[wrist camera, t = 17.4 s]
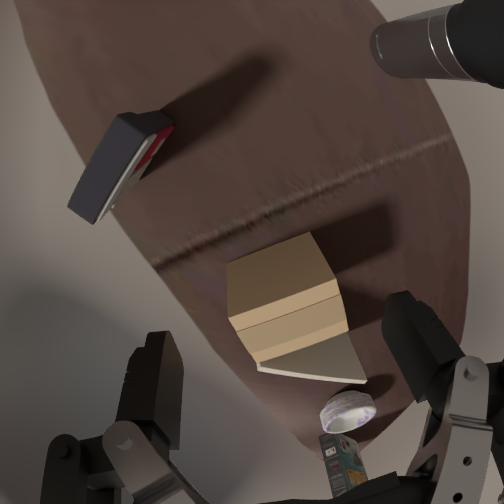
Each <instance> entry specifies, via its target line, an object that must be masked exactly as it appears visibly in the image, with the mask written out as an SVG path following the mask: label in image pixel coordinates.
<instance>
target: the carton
mask: <svg viewBox="0 0 504 504" xmlns="http://www.w3.org/2000/svg"><path fill="white" fill-rule="evenodd" d="M227 297H228V319H229V320H230V322H231V323H232V325H233V327H234V328H235V330H236V333H237V334H238V336H239V338H240V339H241V341H242V342H243V344H244V345H245V347H246V349H247V350H248V352H249V353H250V354H251V355H252V357H253V358H254V360H255V361H256V363H259V362H262V361H265V360H269V359H272V358H275V357H278V356H281V355H284V354H287V353H290V352H293V351H296V350H299V349H301V348H304V347H307V346H310V345H313V344H315V343H318V342H321V341H323V340H326V339H329V338H331V337H334V336H337V335H339V334H342V333H344V332H347V331H349V329H348V325H347V318H346V314H345V310H344V305H343V301H342V297H341V294H340V292H339V288H338V284H337V280H336V277H335V276H334V274H333V272H332V270H331V268H330V267H329V265H328V263H327V261H326V259H325V258H324V256H323V254H322V252H321V251H320V249H319V247H318V245H317V244H316V242H315V240H314V238H313V237H312V235H311V233H310V231H309V232H306V233H304V234H301V235H299V236H296V237H293V238H291V239H288V240H286V241H283V242H280V243H278V244H275V245H273V246H270V247H267V248H265V249H262V250H259V251H257V252H254V253H252V254H249V255H246V256H244V257H241V258H239V259H236V260H233V261H231V262H228V263H227Z"/></svg>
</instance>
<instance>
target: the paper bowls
mask: <svg viewBox="0 0 504 504" xmlns="http://www.w3.org/2000/svg"><path fill="white" fill-rule="evenodd" d="M375 414H376V407H375V405H374V402H373V400H372V397H371V396H370V395H369V394H366V393H360V392H358V391H354V390H351V391H345V392H342V393H339V394H337V395H335V396H334V397H332V398H331V399H330V400H329V401H328V402H327V404H326V407H325V408H324V409H323V410H322V411H321V413H320V418H321V422H322V426H323V429H324V431H325V432H327V433H333V434H335V433H343V432H347V431H350V430H353V429H355V428H358V427H360V426H362V425H363V424H365V423H366V422H368V421H369V420H370V419H372V418H373V416H374V415H375Z"/></svg>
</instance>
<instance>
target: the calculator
mask: <svg viewBox="0 0 504 504" xmlns="http://www.w3.org/2000/svg"><path fill="white" fill-rule="evenodd" d="M173 124H174V121H173V120H172V119H170V118H169V117H167V116H166V115H165V114H163V113H162V112H160V111H159V110H157V111H152V112H147V113H142V114H135V113H132V112H127V113H122V114H118V115H117V116H116V117H115V119H114V120H113V122H112V123H111V125H110V127H109V128H108V130H107V131H106V133H105V135H104V136H103V138H102V140H101V141H100V143H99V145H98V147H97V148H96V150H95V152H94V154H93V155H92V157H91V159H90V161H89V163H88V164H87V166H86V168H85V170H84V172H83V174H82V176H81V178H80V180H79V182H78V184H77V186H76V188H75V190H74V192H73V194H72V196H71V198H70V200H69V203H68V206H67V207H68V208H69V209H71V210H72V211H74V212H75V213H76V214H78V215H79V216H80V217H82V218H83V219H85V220H86V221H88V222H89V223H90V224H94V223H95V222H96V221H97V222H99V221H100V220H101V219H102V218H103V216H104V215H105V214H106V213H107V212H108V211H109V210H110V208H111V207H112V208H114V207H115V205H116V204H117V203H118V202H119V201H120V200H121V199H122V198H123V197H124V196H125V194H126V193H127V192H128V191H129V190H130V189H131V188H132V187H133V186H134V185H135V184H136V183H137V181H138V180H139V178H140V177H141V175H142V174H143V172H144V171H145V169H146V167H147V166H148V164H149V163H150V161H151V160H152V157H153V156H154V155H155V154H156V153H157V151H158V150H159V149H160V147H161V146H162V144H163V143H164V142H165V140H166V139H167V138H168V136H169V135H170V134H171V132H172V131H173V130H174V128H175V127H174V126H173Z"/></svg>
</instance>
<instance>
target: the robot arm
mask: <svg viewBox="0 0 504 504" xmlns="http://www.w3.org/2000/svg"><path fill="white" fill-rule="evenodd" d="M371 49H372V53H373V56H374V58H375V60H376V61H377V63H378V64H379V66H380V67H381V68H382V69H383V70H384V71H385V72H387V73H388V74H390V75H392V76H394V77H397V78H426V79H428V78H429V79H448V80H462V81H473V82H481V83H488V84H489V85H491V86H493V87H496V88H500V89H504V0H464V1H463V2H462V3H459V4H455V5H449V6H445V7H441V8H437V9H433V10H429V11H425V12H421V13H418V14H414V15H411V16H407V17H404V18H401V19H397V20H394V21H391V22H388V23H385V24H382V25H380V26H379V27H377V28H376V29H375V30H374V32H373V34H372V38H371ZM381 329H382V335H383V338H384V340H385V342H386V343H387V345H388V347H389V349H390V351H391V353H392V355H393V356H394V358H395V360H396V362H397V364H398V366H399V368H400V370H401V372H402V374H403V376H404V378H405V380H406V382H407V384H408V386H409V388H410V390H411V392H412V394H413V396H414V398H415V400H416V402H417V403H420V402H422V401H425V400H428V402H429V404H430V407H429V410H428V415H427V419H426V423H425V426H424V431H423V434H422V437H421V441H420V445H419V447H418V450H417V453H416V455H415V456H414V458H413V460H412V461H411V463H410V465H409V468H408V470H407V473H406V476H397V473H396V471H394V472H392V473H389V474H386V475H384V476H380V477H378V478H375V479H372V480H369V481H365V482H363V483H361V484H360V485H358V486H356V487H354V488H352V489H351V490H349V491H347V492H345V493H343V494H341V495H339V496H337V497H335V498H333V499H329V500H300V499H290V500H284V501H277V502H269V503H260V504H479V500H480V497H481V493H482V489H483V485H484V481H485V476H486V472H487V467H488V461H489V456H490V450H491V452H492V454H493V457H494V459H495V462H496V465H497V468H498V470H499V473H500V476H501V479H502V482H503V485H504V359H503V361H502V362H497V363H488V364H485V363H484V362H483V361H482V360H481V359H479V358H477V357H474V356H466V355H465V354H464V353H463V351H462V350H461V348H460V347H459V346H458V344H457V343H456V341H455V340H454V338H453V337H452V336H451V334H450V333H449V331H448V330H447V329H446V327H444V324H443V323H442V322H441V320H440V319H438V316H437V315H436V314H435V312H434V311H433V310H432V308H431V307H429V306H428V305H426V304H425V303H423V302H422V301H416V300H415V298H414V297H413V296H412V294H411V293H410V292H409V291H407V290H406V291H402V292H397V293H393V294H389V295H388V297H387V301H386V306H385V310H384V315H383V319H382V324H381ZM126 371H127V373H126V374H125V378H124V383H123V387H122V392H121V396H120V402H119V406H118V411H117V416H116V420H115V422H114V423H113V424H111V425H110V426H109V427H108V428H107V429H106V430H105V432H104V434H103V435H101V436H98V437H94V438H90V439H85V440H80V441H78V440H77V439H76V438H75V437H73V436H71V435H68V434H62V435H59V436H57V437H55V438H54V439H53V440H52V441H51V443H50V445H49V448H48V452H47V458H46V464H45V470H44V476H43V483H42V490H41V499H40V504H121V488H122V487H126V488H127V489H128V491H129V492H130V494H131V495H132V497H133V499H134V502H133V504H210V503H209V502H208V501H207V500H206V499H205V498H204V497H203V496H202V495H201V494H200V493H199V492H198V491H197V490H196V489H195V488H194V487H193V486H192V484H191V483H190V482H189V481H188V480H187V479H186V477H185V476H184V475H183V474H182V473H181V471H180V470H179V469H178V468H177V467H176V466H175V464H174V463H173V462H172V460H171V459H170V458H169V450H179V440H180V421H181V404H182V389H183V376H184V369H183V362H182V358H181V356H180V353H179V351H178V349H177V346H176V344H175V342H174V339H173V337H172V334H171V333H170V331H160V332H159V331H158V332H149V333H148V334H147V338H146V342H145V346H144V347H138V348H137V349H136V350H135V351H134V353H133V354H132V356H131V357H130V358H129V362H128V366H127V370H126ZM498 503H499V504H504V488H503V491H502V494H500V495H499V497H498Z"/></svg>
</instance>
